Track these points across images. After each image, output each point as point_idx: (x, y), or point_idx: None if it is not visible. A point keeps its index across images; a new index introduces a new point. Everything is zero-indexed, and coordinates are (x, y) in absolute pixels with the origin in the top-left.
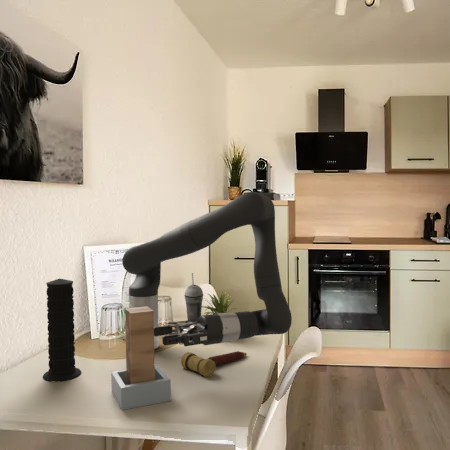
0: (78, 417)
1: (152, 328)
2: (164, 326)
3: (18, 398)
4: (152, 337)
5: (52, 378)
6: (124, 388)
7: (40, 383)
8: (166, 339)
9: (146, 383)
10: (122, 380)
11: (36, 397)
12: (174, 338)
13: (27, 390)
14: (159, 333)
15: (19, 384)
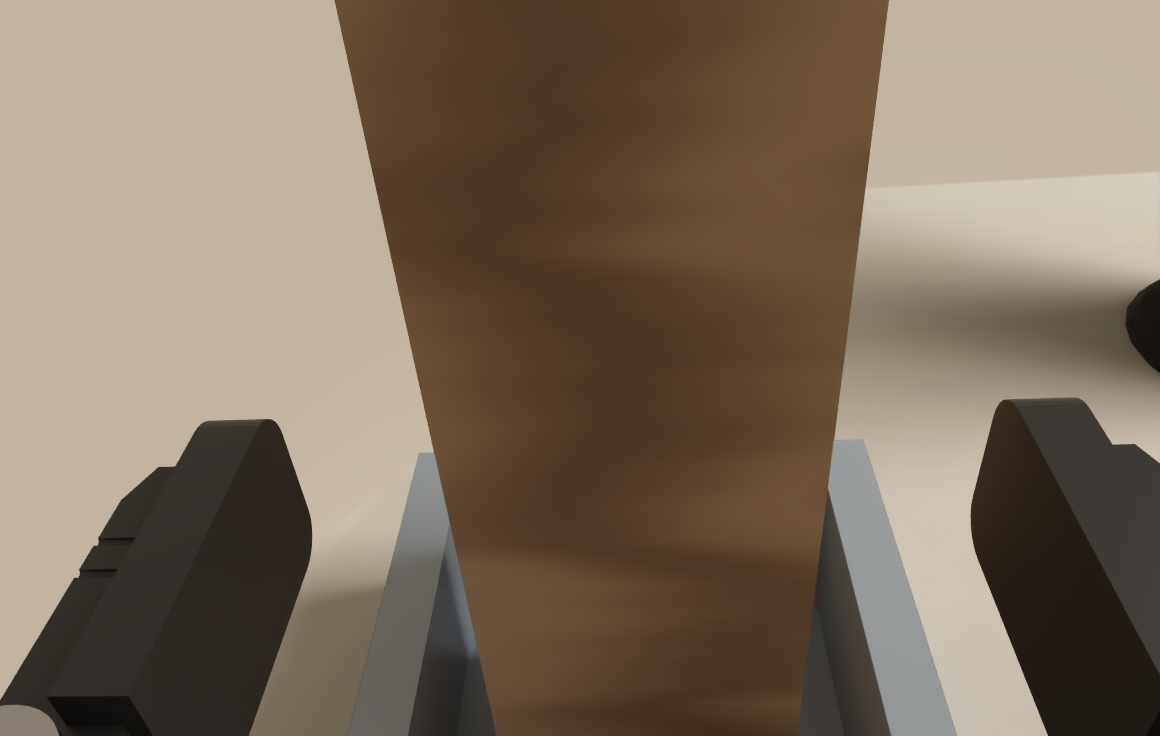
0: None
1: (382, 172)
2: (1136, 601)
3: (879, 217)
4: (417, 324)
5: (1152, 294)
6: (414, 478)
7: (1101, 269)
8: (160, 485)
9: (381, 637)
10: (826, 573)
11: (870, 262)
12: (59, 624)
13: (989, 235)
14: (1019, 595)
15: (1093, 210)
